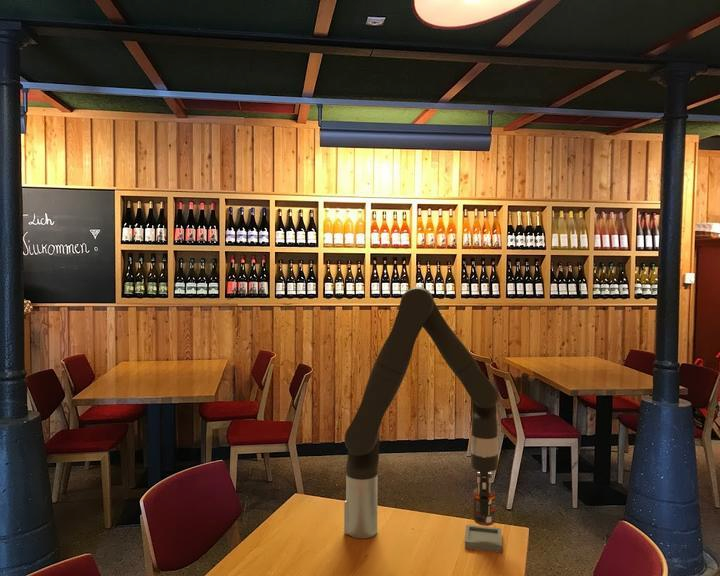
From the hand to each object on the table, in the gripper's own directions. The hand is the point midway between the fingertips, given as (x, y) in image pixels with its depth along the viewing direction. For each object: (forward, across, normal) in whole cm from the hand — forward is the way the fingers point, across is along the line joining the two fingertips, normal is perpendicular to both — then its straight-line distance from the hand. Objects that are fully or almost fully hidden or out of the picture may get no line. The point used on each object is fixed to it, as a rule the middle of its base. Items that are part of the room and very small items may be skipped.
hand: (484, 509), depth 157 cm
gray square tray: (+9, 0, 0) cm, 9 cm away
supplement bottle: (+4, 0, 0) cm, 4 cm away
